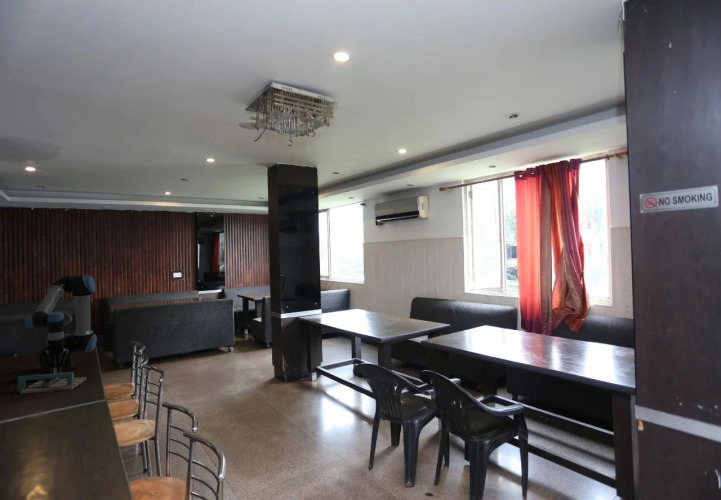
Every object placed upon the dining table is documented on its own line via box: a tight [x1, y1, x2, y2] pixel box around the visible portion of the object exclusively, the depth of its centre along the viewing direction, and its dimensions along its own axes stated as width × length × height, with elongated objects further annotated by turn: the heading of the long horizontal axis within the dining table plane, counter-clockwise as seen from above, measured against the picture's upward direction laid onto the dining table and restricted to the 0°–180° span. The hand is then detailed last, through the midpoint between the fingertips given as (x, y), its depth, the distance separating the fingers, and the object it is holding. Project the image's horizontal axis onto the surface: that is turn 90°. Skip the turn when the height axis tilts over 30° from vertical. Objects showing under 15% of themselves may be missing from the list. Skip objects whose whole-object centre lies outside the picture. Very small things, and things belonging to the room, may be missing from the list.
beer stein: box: [38, 346, 63, 381], centre depth 252 cm, size 15×11×20 cm
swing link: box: [42, 378, 60, 388], centre depth 232 cm, size 15×4×3 cm, turn 18°
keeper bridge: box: [17, 371, 75, 393], centre depth 228 cm, size 2×26×8 cm, turn 105°
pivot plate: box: [19, 369, 87, 395], centre depth 234 cm, size 20×25×9 cm
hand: (55, 378), depth 233 cm, fingers closed
